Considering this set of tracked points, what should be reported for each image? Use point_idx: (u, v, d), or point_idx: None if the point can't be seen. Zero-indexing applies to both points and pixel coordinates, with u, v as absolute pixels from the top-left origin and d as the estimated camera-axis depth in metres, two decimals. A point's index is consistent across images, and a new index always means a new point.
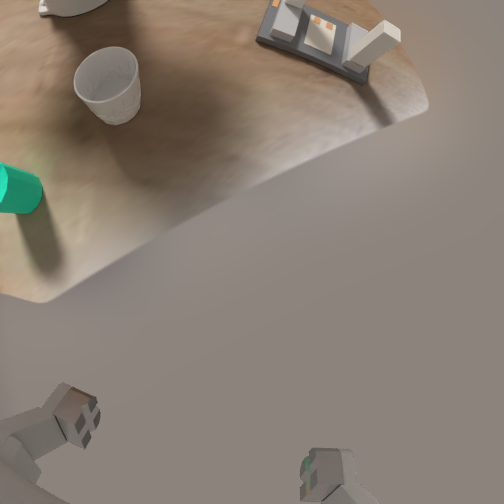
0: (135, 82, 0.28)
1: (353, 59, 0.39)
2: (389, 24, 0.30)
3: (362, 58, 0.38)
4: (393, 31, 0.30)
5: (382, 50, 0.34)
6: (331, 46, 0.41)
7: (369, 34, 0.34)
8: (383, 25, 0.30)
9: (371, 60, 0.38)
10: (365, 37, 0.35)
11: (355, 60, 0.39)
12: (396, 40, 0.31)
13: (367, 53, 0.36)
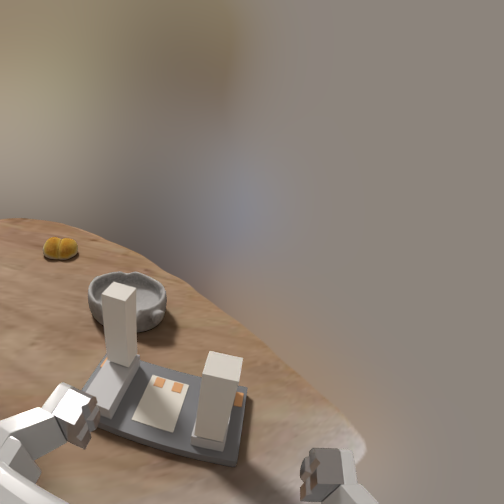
0: None
1: (199, 434, 0.26)
2: (219, 356, 0.25)
3: (208, 429, 0.26)
4: (226, 365, 0.24)
5: (224, 407, 0.24)
6: (176, 419, 0.30)
7: None
8: None
9: (222, 428, 0.25)
10: None
11: (202, 434, 0.26)
12: (231, 380, 0.23)
13: (208, 419, 0.25)
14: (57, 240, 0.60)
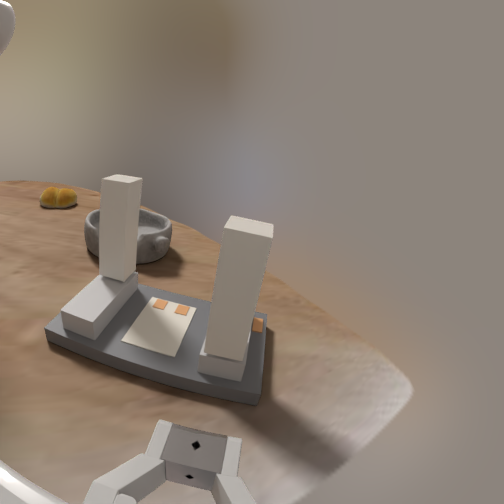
0: None
1: (210, 348, 0.22)
2: (244, 219, 0.21)
3: (224, 337, 0.21)
4: (254, 226, 0.20)
5: (249, 290, 0.20)
6: (179, 343, 0.26)
7: None
8: None
9: (244, 334, 0.21)
10: None
11: (214, 348, 0.22)
12: (262, 237, 0.18)
13: (226, 317, 0.21)
14: (55, 189, 0.55)
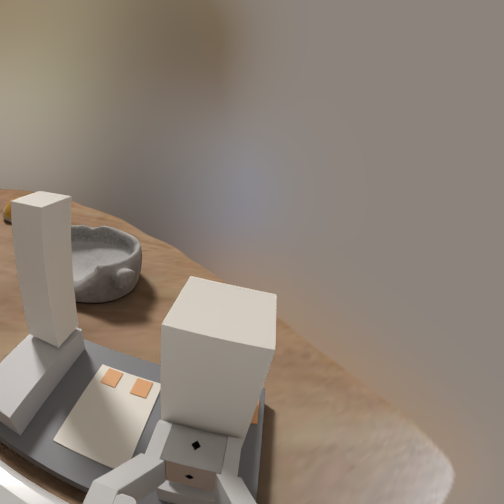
0: None
1: None
2: (215, 287, 0.10)
3: None
4: (235, 307, 0.09)
5: (228, 426, 0.09)
6: (133, 447, 0.14)
7: None
8: None
9: None
10: None
11: None
12: (250, 348, 0.08)
13: None
14: None
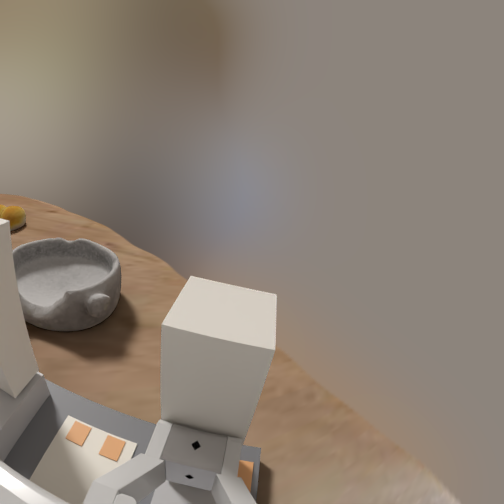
0: None
1: None
2: (215, 287, 0.10)
3: None
4: (235, 307, 0.09)
5: (228, 426, 0.09)
6: None
7: None
8: None
9: None
10: None
11: None
12: (250, 348, 0.08)
13: None
14: (0, 207, 0.39)
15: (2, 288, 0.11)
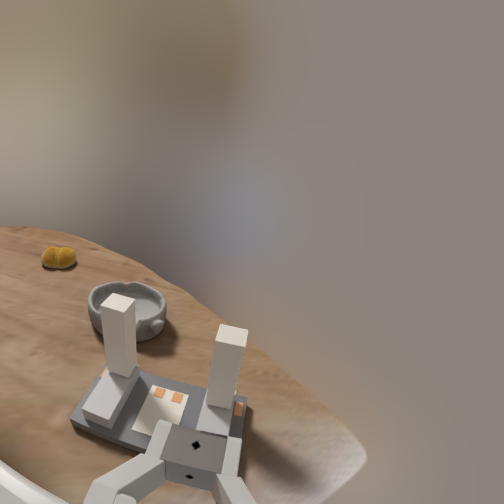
0: None
1: (209, 402, 0.32)
2: (228, 328, 0.31)
3: (218, 396, 0.31)
4: (235, 334, 0.30)
5: (232, 372, 0.30)
6: None
7: None
8: (218, 332, 0.30)
9: (230, 394, 0.31)
10: None
11: (212, 402, 0.32)
12: (238, 346, 0.28)
13: (218, 385, 0.31)
14: (55, 249, 0.59)
15: (131, 327, 0.32)
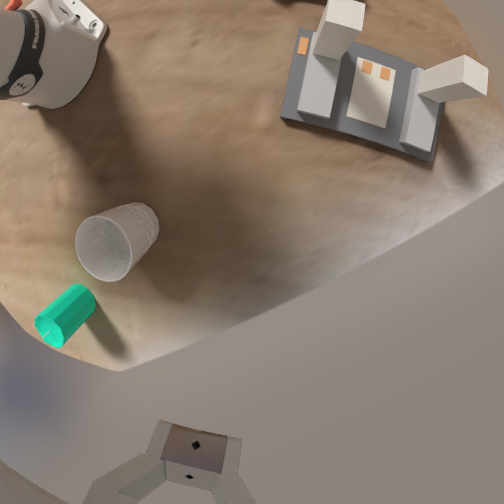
0: (135, 255, 0.32)
1: (423, 94, 0.27)
2: (472, 63, 0.17)
3: (434, 96, 0.25)
4: (478, 75, 0.17)
5: (460, 96, 0.21)
6: (386, 113, 0.31)
7: (443, 67, 0.21)
8: (463, 66, 0.17)
9: (446, 99, 0.25)
10: (438, 69, 0.22)
11: (425, 95, 0.27)
12: (480, 92, 0.18)
13: (440, 93, 0.24)
14: None
15: None
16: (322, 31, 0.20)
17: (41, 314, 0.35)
